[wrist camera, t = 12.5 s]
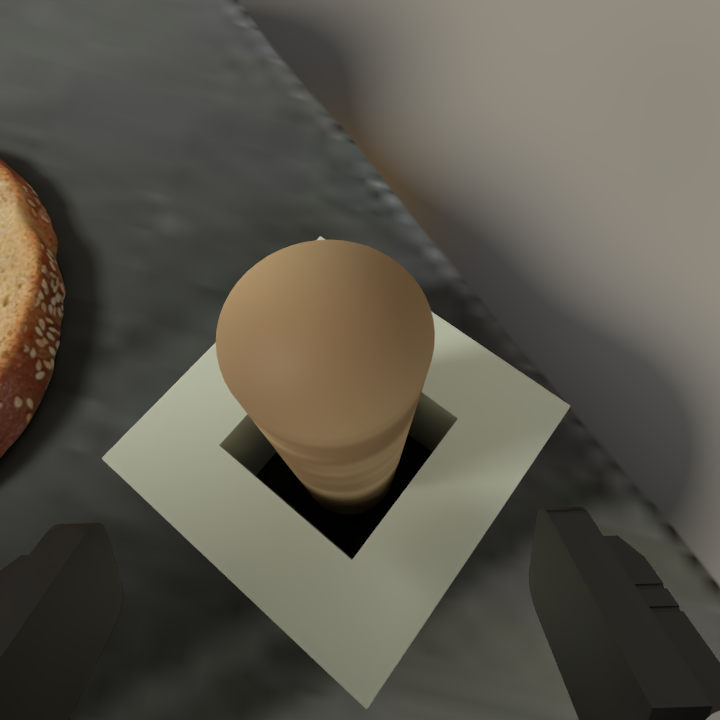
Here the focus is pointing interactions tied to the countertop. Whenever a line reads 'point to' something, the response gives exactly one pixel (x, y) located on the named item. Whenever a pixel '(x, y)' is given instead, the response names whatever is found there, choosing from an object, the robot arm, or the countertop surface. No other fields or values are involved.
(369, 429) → the dowel
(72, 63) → the countertop surface
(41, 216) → the slice of bread
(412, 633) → the holder
